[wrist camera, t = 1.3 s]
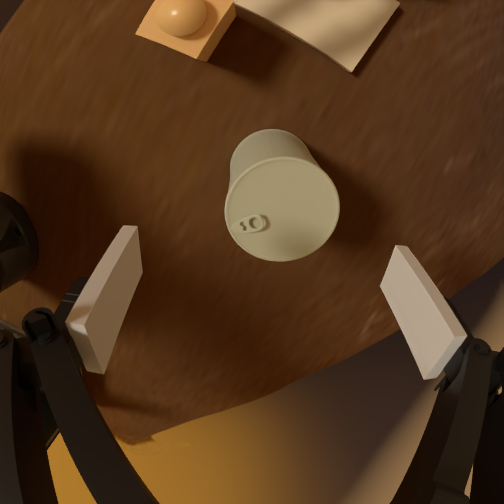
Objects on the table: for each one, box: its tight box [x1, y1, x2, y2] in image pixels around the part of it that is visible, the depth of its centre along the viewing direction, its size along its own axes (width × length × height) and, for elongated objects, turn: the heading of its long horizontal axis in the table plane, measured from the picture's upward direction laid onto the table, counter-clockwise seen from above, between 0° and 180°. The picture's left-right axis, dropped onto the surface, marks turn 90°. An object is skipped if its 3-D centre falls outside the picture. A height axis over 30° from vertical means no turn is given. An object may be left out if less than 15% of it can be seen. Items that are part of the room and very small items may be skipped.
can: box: [225, 129, 340, 261], centre depth 29 cm, size 9×9×12 cm
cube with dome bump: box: [136, 0, 236, 62], centre depth 21 cm, size 6×6×8 cm
